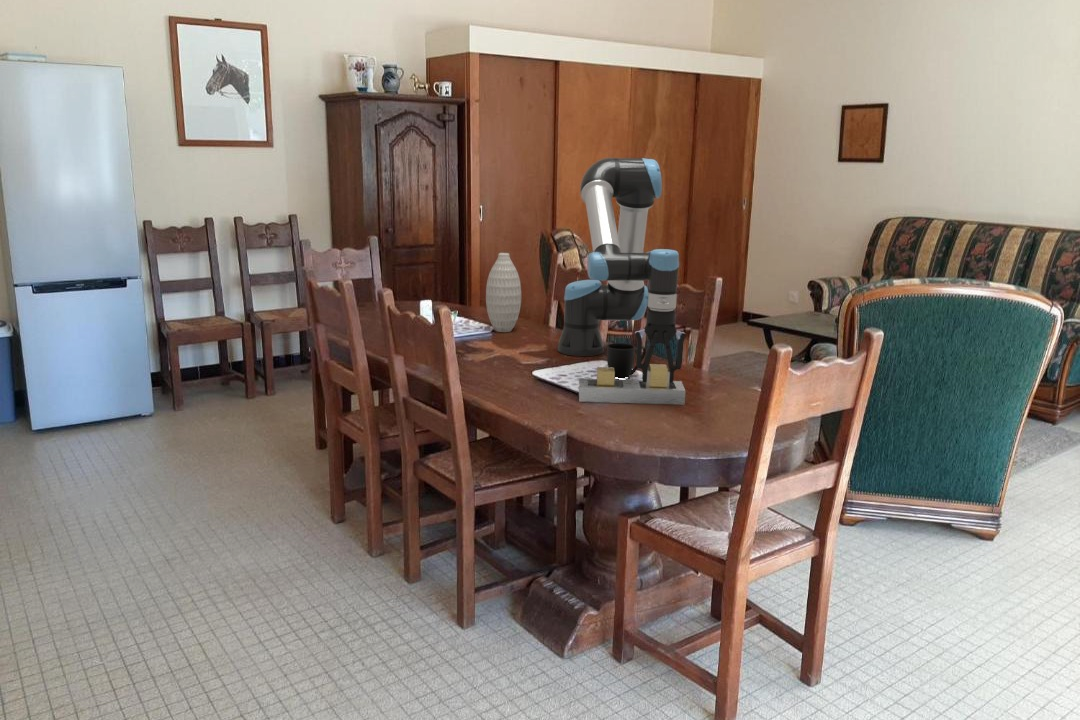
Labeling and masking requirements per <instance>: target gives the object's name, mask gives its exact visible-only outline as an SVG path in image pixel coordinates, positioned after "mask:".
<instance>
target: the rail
mask: <svg viewBox="0 0 1080 720" xmlns="http://www.w3.org/2000/svg"><path fill="white" fill-rule="evenodd" d="M578 381H579V383H578V402H579V403H580V402H581V403H605V404H606V403H607V404H608V403H610V404H611V403H613V404H615V403H616V404H642V405H643V404H644V405H678V406H679V405H680V406H684V405H685V403H686V392H687V391H686V389H685V387H684V384H683V381H681V380H673V383H669V389H664V388H646V382H643V380H642V379H626V380H619V379H614V387H597V378H580V377H579V378H578Z"/></svg>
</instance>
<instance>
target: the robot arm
mask: <svg viewBox="0 0 1080 720" xmlns="http://www.w3.org/2000/svg"><path fill="white" fill-rule="evenodd" d="M581 179H582V180H581V182H580V190H579V191H580V197H581V200H582V201H583V203H584V204H585V207H586V214H587V220H588V227H589V233H590V241H591V246H592V252H590V253H589V254H588V257H587V263H586V265H587V266H586V267H587V270H586V271H587V276H588V278H589V279H582V280H578V281H577V280H576V281H572V282H570V283H568V284H567V285H566V286H565V290H564V297H563V300H564V315H563V316H564V318H563V322H564V323H563V329H562V331H561V334H560V338H559V340H558V344H557V351H558V352H559V353H560V354H563V355H565V356H566V355H568V356H573V357H574V356H575V357H593V356H599V355H602V354H603V353H604V350H605V347H604V346H605V345H604V342H603V338H602V334H601V331H600V321H627V322H631V321H639V320H640V319H642V318H643V317H644V316H645V313H646V325H645V327H644V329H640V330H635V332H634V334H635V337H636V347H637V350H635V366H637V369H640V370H642V373H641V375H642V376H641V380H643V382H646V388H649V387H650V369H649V364H651V360H652V357H653V352H654V350H655V347H656V345H657V344H663V345H664V349H665V353H666V354H665V355H666V360H667V364H668V366H667V367H668V374H667V389H669V383H673V381H675V380H674V379H675V378H674V375H675V372H676V371H677V370H681V368H682V364H683V363H682V360H683V346H684V341H685V339H686V336H687V335H686V333H685V331H679V330H678V329H677V327H676V314H677V311H676V310H675V309H676V307H677V293H678V282H679V281H678V280H679V278H678V277H679V267H680V258H679V257H680V256H679V255H680V254H679V251H677V250H675V249H667V248H665V249H664V248H658V249H657V248H656V249H653V250H651V251H647V252H644V247H645V238H646V230H647V223H648V213H649V209H651V208H652V207H653V206H654V204H655V199H656V200H657V199H660V198H661V197H662V196H661V195H662V192H663V191H662V190H663V189H662V188H663V185H662V183H663V181H662V174H661V168H660V165H659V163H658V161H657V160H655V159H653V158H644V157H642V158H640V157H639V158H635V157H633V158H631V157H630V158H628V157H621V158H620V157H619V158H618V157H605V158H601V159H599V160H597V161H596V162H594V163H593V164H591V166H590V167H589V168H588V169H587V170H586V172H585V173H584V175H583V177H582V178H581ZM612 198H615V203H616V204H617V205H618V206H619V219H618V227H617V225H616V224H617V223H616V217H615V212H614V207H613V201H612ZM617 229H618V230H617ZM602 281H603V282H605V281H607V282H608V283H607V284H602ZM645 281H648V287H647V286H646V284H645ZM647 307H648V308H647ZM645 335H646V336H647V337H648V339H649V342H648V345H647V346H648V347H647V348H646V355H645V357H644V359H643V362H641V358H642V353H643V349H642V347H643V340H642V339H644V338H645ZM674 336H676V337H675V338H676V340H677V341H676V355H675V363H674V361H673V354H672V349H671V343H670V341H672V339H673V338H674Z"/></svg>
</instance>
